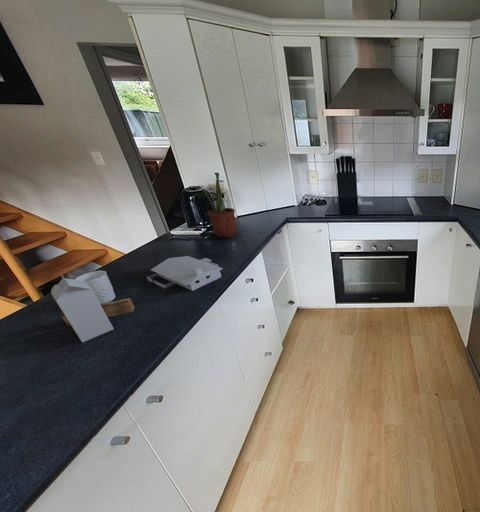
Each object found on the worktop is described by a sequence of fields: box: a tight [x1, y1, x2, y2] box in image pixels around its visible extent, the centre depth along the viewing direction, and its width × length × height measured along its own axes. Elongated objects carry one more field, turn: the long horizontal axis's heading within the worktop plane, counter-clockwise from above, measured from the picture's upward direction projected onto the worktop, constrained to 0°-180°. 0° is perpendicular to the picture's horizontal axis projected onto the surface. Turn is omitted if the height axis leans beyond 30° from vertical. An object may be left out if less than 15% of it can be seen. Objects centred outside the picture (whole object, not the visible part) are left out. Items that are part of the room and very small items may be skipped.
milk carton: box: [50, 274, 114, 343], centre depth 80 cm, size 7×7×19 cm
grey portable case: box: [145, 255, 224, 292], centre depth 114 cm, size 25×24×7 cm
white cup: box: [74, 270, 117, 304], centre depth 96 cm, size 8×8×10 cm
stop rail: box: [60, 297, 136, 327], centre depth 89 cm, size 16×3×5 cm, turn 118°
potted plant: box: [191, 172, 238, 240], centre depth 144 cm, size 17×16×35 cm
